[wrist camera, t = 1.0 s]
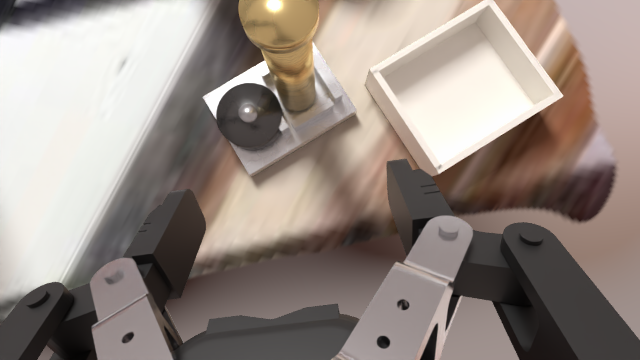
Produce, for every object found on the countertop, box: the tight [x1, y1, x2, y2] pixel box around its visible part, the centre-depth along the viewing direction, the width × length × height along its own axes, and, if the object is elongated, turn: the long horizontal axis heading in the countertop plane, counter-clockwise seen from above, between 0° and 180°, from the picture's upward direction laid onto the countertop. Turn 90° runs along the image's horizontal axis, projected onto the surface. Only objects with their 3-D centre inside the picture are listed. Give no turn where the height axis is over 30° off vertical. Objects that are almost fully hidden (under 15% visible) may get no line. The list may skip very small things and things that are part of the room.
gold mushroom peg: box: [238, 0, 319, 111], centre depth 25 cm, size 5×5×13 cm
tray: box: [365, 0, 563, 176], centre depth 31 cm, size 13×11×4 cm
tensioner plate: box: [203, 42, 357, 176], centre depth 31 cm, size 12×9×3 cm
